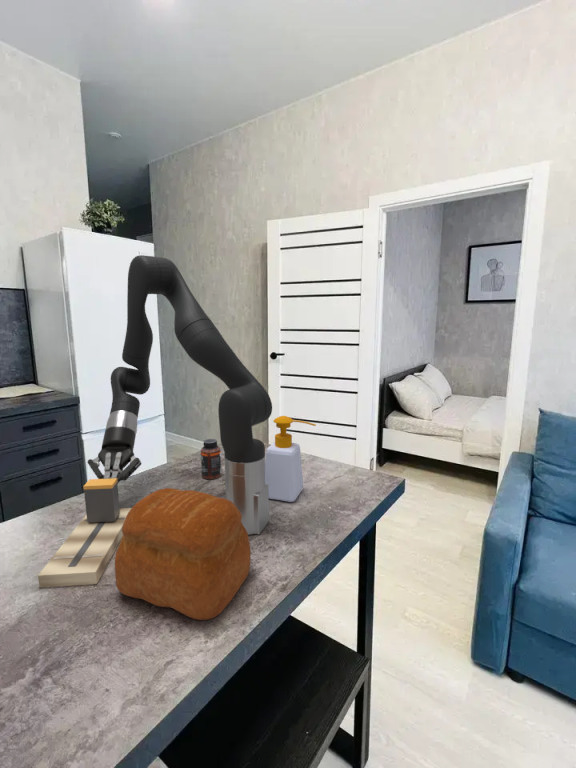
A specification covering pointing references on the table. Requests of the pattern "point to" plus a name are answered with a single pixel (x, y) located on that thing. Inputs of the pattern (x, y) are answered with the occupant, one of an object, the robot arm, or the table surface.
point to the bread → (183, 552)
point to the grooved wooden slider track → (84, 553)
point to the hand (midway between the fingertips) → (108, 497)
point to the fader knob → (102, 500)
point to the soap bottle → (284, 464)
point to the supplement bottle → (211, 459)
